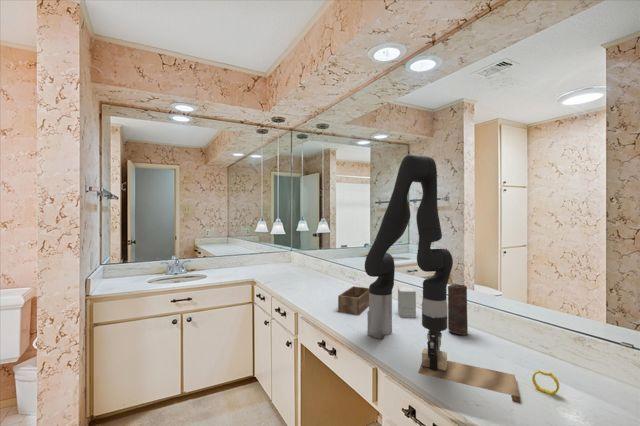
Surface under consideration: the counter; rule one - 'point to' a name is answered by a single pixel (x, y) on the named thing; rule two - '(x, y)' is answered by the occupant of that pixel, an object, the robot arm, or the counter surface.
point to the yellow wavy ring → (547, 373)
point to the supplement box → (407, 302)
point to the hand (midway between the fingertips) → (434, 366)
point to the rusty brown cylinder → (457, 309)
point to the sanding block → (441, 360)
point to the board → (477, 378)
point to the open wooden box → (353, 300)
